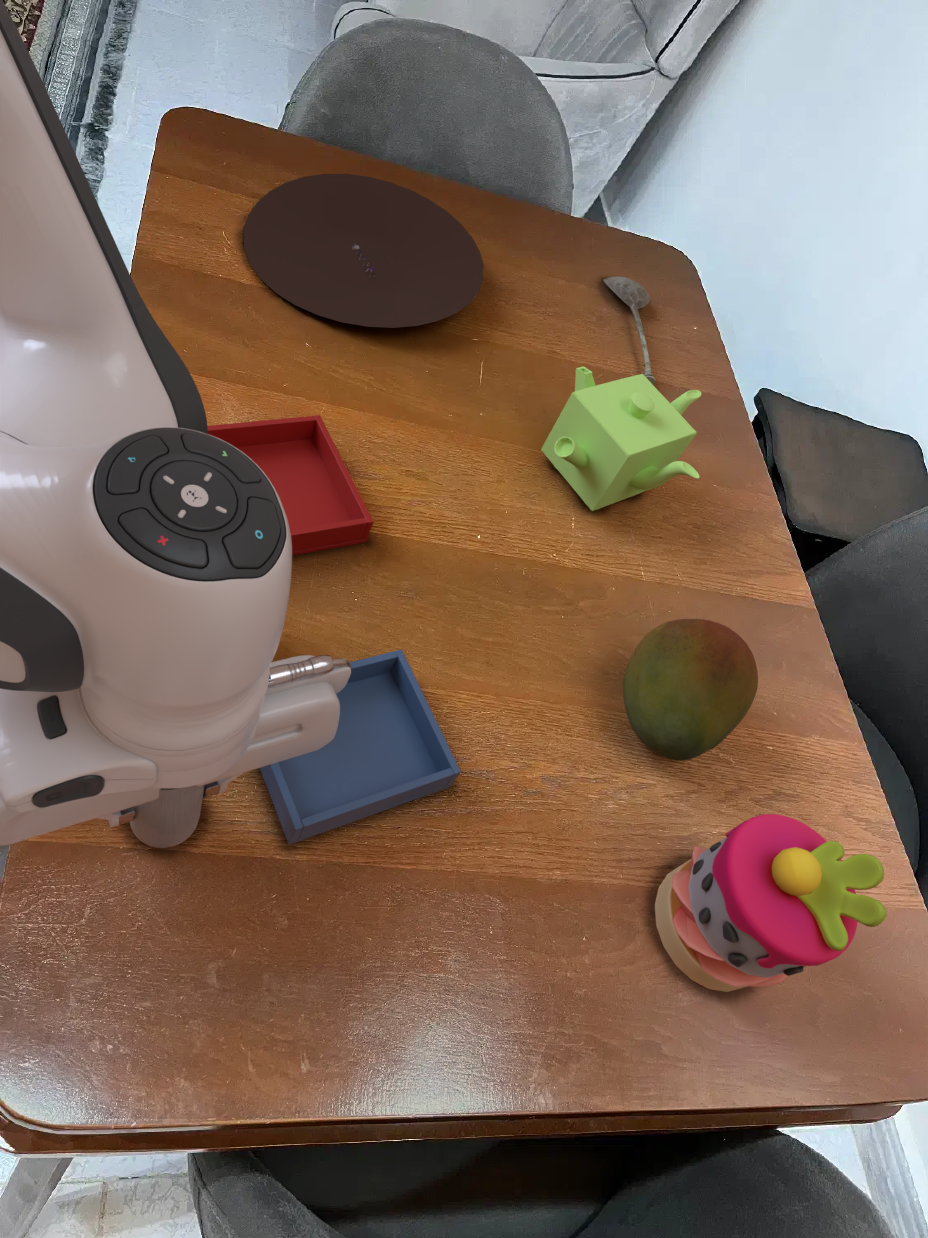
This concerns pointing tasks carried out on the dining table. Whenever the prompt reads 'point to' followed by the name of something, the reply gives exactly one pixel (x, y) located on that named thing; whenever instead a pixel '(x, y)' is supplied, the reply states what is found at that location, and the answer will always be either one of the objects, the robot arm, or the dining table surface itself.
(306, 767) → the blue tray
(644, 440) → the green horned cube
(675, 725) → the fruit
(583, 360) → the dining table surface
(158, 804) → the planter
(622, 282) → the soupspoon
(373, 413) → the dining table surface
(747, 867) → the cake
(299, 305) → the plate
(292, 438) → the red tray
